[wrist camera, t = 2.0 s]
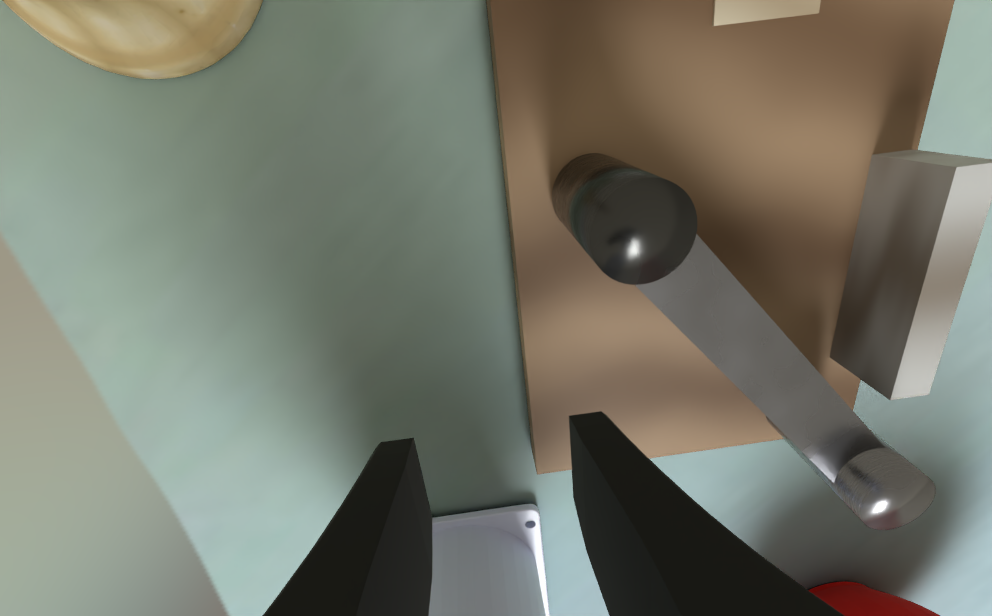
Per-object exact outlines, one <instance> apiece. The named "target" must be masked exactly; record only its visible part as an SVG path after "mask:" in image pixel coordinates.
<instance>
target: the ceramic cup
mask: <svg viewBox="0 0 992 616" xmlns="http://www.w3.org/2000/svg"><path fill="white" fill-rule="evenodd" d="M808 591H810V592H811V593H813V594H814V595H816V596H817V597H818V598H820V599H821V600H823V601H824V602H826V603H827V604H829V605H830V606H831V607H833V608H834V609H836V610H837V611H839V612H840V613H842V614H843V615H844V616H940V615H938V614H936V613H934V612H932V611H930V610H928V609H926V608H924V607H922V606H920V605H918V604H915V603H913V602H911V601H908V600H906V599H903V598H900V597H897V596H894V595H891V594H888V593H885V592H881V591H878V590H874V589H870V588H869V587H867V586H865V585H863V584H860V583H856V582H847V581H845V582H833V583H828V584H824V585H820V586H817V587H814V588H812V589H809V590H808Z"/></svg>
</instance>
